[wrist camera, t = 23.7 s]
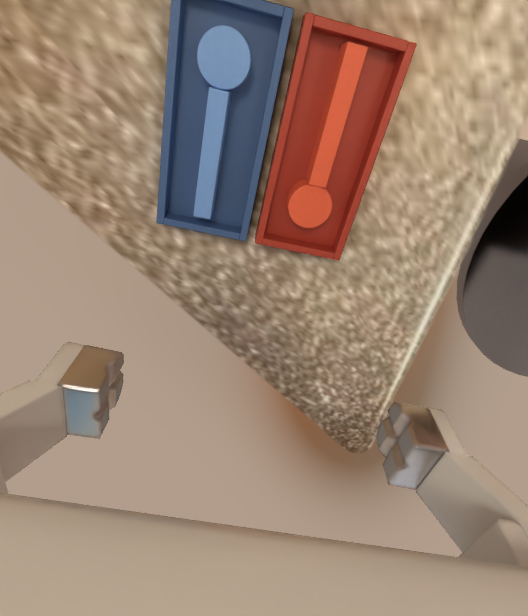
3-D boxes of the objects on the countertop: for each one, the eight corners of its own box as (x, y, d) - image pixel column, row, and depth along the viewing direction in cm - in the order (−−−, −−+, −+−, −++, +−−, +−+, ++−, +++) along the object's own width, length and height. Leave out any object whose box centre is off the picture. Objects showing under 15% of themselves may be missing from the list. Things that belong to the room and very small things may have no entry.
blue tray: (292, 12, 25) (294, 8, 24) (246, 233, 34) (246, 241, 32) (179, -20, 24) (173, -26, 23) (161, 215, 33) (156, 223, 31)
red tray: (407, 45, 26) (417, 43, 25) (335, 252, 35) (339, 260, 33) (303, 15, 25) (306, 11, 24) (255, 235, 34) (255, 243, 32)
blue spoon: (226, 213, 32) (223, 222, 30) (184, 204, 32) (179, 213, 30) (256, 36, 26) (255, 32, 24) (204, 21, 25) (199, 17, 23)
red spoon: (326, 39, 26) (331, 36, 24) (374, 53, 26) (384, 51, 24) (282, 215, 32) (283, 225, 30) (321, 224, 33) (325, 234, 31)
